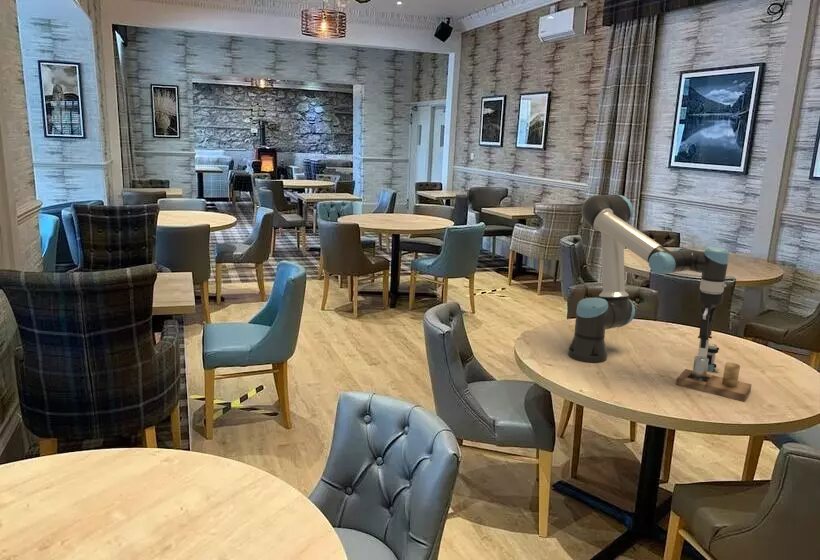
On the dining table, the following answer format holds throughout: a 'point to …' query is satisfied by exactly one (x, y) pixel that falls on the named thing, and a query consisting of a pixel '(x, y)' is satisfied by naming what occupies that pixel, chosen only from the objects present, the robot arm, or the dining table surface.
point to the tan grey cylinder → (700, 368)
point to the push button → (712, 357)
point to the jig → (718, 383)
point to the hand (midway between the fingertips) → (702, 355)
